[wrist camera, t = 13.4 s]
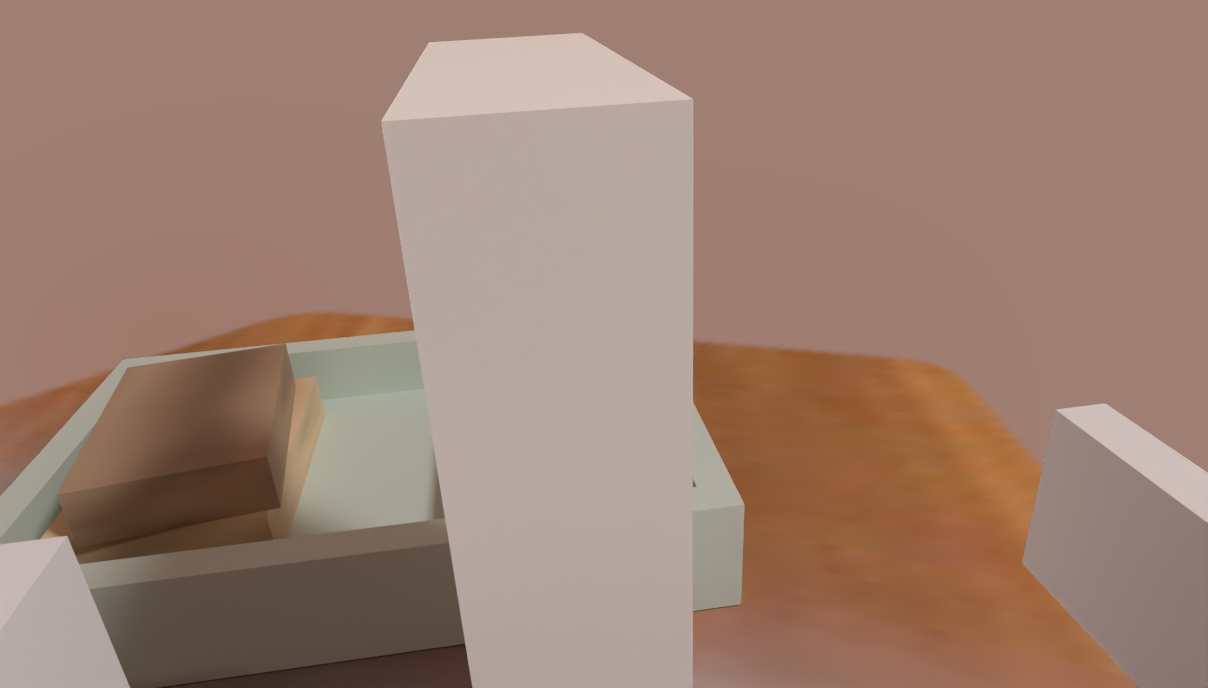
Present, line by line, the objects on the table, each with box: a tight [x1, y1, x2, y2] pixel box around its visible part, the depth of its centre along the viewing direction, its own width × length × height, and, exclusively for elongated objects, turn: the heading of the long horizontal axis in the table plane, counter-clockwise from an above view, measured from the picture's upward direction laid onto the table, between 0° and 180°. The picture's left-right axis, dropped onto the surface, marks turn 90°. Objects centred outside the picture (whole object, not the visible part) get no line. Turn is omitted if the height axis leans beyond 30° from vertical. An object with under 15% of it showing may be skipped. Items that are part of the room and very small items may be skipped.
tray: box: [0, 331, 744, 688], centre depth 31 cm, size 24×16×4 cm, turn 98°
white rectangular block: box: [381, 33, 693, 688], centre depth 16 cm, size 3×9×18 cm, turn 8°
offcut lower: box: [41, 376, 325, 564], centre depth 31 cm, size 7×10×2 cm
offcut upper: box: [57, 344, 296, 547], centre depth 29 cm, size 6×9×2 cm, turn 16°
